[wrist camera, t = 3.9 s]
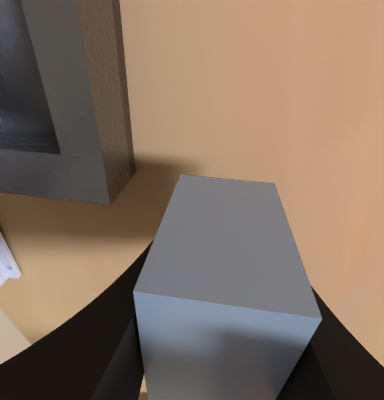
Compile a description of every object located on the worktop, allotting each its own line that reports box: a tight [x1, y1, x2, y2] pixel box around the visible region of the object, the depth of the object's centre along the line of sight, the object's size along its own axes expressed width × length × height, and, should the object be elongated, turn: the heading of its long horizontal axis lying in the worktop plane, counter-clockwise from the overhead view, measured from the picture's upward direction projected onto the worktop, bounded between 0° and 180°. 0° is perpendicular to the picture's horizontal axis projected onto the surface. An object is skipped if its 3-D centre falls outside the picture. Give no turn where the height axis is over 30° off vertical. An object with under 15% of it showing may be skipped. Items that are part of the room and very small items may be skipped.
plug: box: [133, 174, 322, 400], centre depth 9 cm, size 6×4×6 cm, turn 177°
